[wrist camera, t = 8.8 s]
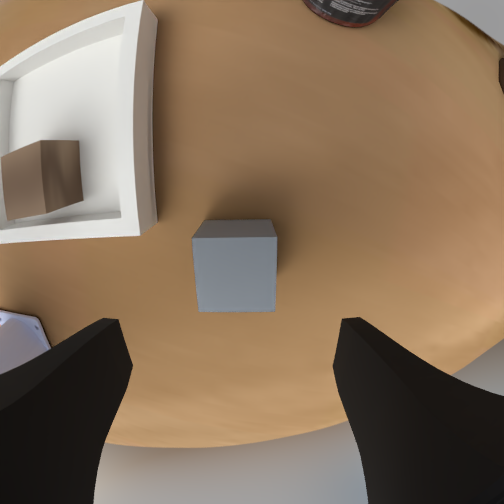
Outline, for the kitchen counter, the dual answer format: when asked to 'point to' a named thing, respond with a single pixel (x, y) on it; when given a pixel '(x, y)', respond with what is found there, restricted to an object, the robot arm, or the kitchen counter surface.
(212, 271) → the slate block
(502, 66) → the beer bottle
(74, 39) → the tray
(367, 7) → the supplement bottle
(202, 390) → the kitchen counter surface
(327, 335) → the kitchen counter surface
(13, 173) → the walnut block
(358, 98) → the kitchen counter surface
